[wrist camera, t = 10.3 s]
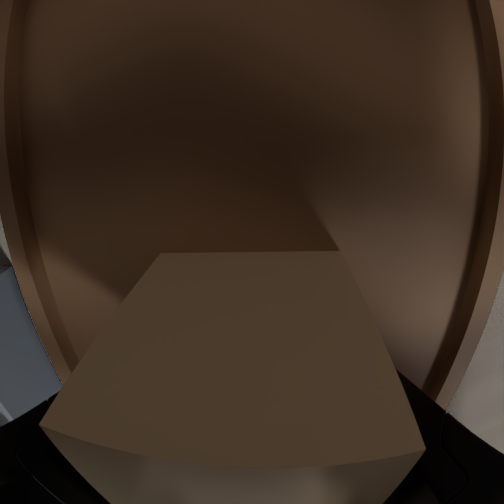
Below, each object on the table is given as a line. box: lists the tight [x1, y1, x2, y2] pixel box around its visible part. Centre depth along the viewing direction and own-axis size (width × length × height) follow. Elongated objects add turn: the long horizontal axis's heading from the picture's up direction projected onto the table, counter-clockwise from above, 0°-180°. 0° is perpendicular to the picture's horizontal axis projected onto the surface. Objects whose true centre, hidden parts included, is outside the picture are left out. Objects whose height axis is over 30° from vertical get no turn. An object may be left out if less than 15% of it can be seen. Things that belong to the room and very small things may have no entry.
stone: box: [39, 251, 426, 504], centre depth 6 cm, size 4×4×6 cm
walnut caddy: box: [0, 0, 504, 410], centre depth 7 cm, size 19×15×1 cm
